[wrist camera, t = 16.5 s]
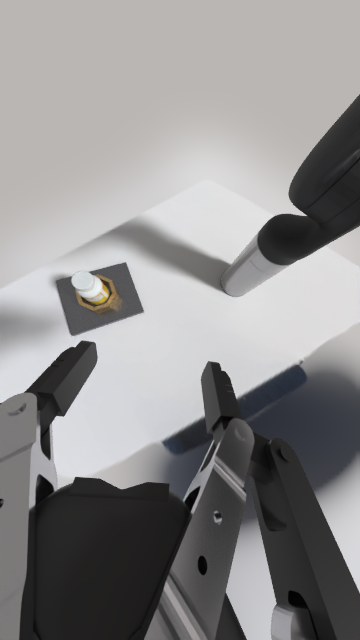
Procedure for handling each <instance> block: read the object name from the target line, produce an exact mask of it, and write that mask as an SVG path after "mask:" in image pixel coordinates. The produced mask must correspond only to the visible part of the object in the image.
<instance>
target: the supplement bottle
mask: <svg viewBox="0 0 360 640" xmlns="http://www.w3.org/2000/svg"><path fill="white" fill-rule="evenodd" d="M71 282H72V284H73V286H74V287H75V289H76V291H77V293H78V294H79V295H80V296H82V297H83V298H85V299H86V300H88V301H89V302H90V303H92V304H93V305H95V306H99V305H102V304H106V303H107V301H108V300H109V298H110V296H111V293H110V291H109V290H108V289H107V287H106V286H105V285H104V284H103V283H102V281H101V280H100V279H99V278H98V277H96V276H94V275H91V274H90V273H89V272H87V271H79V272H76V273H75V274H74V275H73V276H72V279H71Z"/></svg>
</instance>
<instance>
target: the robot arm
mask: <svg viewBox="0 0 360 640" xmlns="http://www.w3.org/2000/svg"><path fill="white" fill-rule="evenodd" d="M289 198H290V200H291V202H292V203H293V205H294V206H296V207H297V208H298V209H299V210H300V211H302V212H303V213H304V214H306V215H307V216H299V215H293V214H280V215H277V216H274V217H273V218H271V219H270V220H269V221H268V222H267V223H266V224H265V225H264V226H263V227H262V229H261V230H260V231H259V232H258V233H257V235H256V236H255V237H254V238H253V239H252V241H251V242H250V243H249V244H248V245H247V246H246V248H245V249H244V250H243V251H242V252H241V254H240V255H239V256H238V257H237V258H236V259H235V261H234V262H233V263H232V264H231V265H230V266H229V268H228V269H227V270H226V271H225V272H224V273H223V275H222V277H221V285H222V288H223V289H224V291H225V292H226V293H227V294H229V295H231V296H234V297H240V296H243V295H244V294H246V293H247V292H249V291H251V290H252V289H254V288H255V287H257V286H258V285H260V284H261V283H263V282H265V281H266V280H268V279H269V278H271V277H272V276H274V275H276V274H277V273H279V272H280V271H282V270H283V269H285V268H286V267H288V266H289V265H291V264H292V263H294V262H296V261H297V260H300V259H302V258H305V257H307V256H308V255H310V254H312V253H313V252H315V251H317V250H318V249H320V248H322V247H324V246H325V245H327V244H329V243H330V242H332V241H334V240H336V239H338V238H339V237H341V236H343V235H345V234H346V233H348V232H350V231H352V230H354V229H355V228H357V227H359V226H360V95H359V96H358V97H357V98H356V99H355V100H354V102H353V103H352V104H351V105H350V106H349V107H348V109H347V110H346V111H345V112H344V113H343V114H342V115H341V117H340V118H339V119H338V120H337V121H336V122H335V123H334V125H333V126H332V127H331V128H330V129H329V130H328V132H327V133H326V134H325V135H324V136H323V138H322V139H321V140H320V141H319V142H318V144H317V145H316V146H315V147H314V148H313V150H312V151H311V152H310V154H309V155H308V157H307V158H306V159H305V160H304V162H303V163H302V165H301V166H300V168H299V169H298V171H297V173H296V175H295V176H294V178H293V180H292V182H291V185H290V188H289ZM96 363H97V350H96V344H95V342H89V341H81V342H80V343H79V344H78V345H77V346H76V347H70V348H69V349H67V350H65V351H64V352H62V353H61V354H60V355H59V357H58V358H57V359H56V361H54V362H53V363H52V364H51V366H49V367H48V368H47V369H46V370H45V371H44V372H43V373H42V375H41V376H40V377H39V378H38V379H37V380H36V381H35V382H34V383H33V384H32V385H31V386H30V387H29V388H28V389H27V390H26V391H25V392H24V393H21V394H18V395H15V396H13V397H11V398H9V399H7V400H6V401H4V402H3V403H0V640H247V639H246V637H245V635H244V632H243V630H242V628H241V626H240V623H239V621H238V619H237V617H236V614H235V612H234V610H233V607H232V605H231V603H230V601H229V599H228V596H227V594H226V587H227V583H228V578H229V574H230V569H231V565H232V561H233V556H234V552H235V547H236V543H237V538H238V534H239V529H240V524H241V521H242V516H243V512H244V507H245V502H246V492H245V490H244V482H245V478H246V474H248V477H249V481H250V486H251V490H252V495H253V499H254V504H255V508H256V512H257V517H258V521H259V526H260V530H261V535H262V539H263V544H264V548H265V553H266V557H267V562H268V566H269V571H270V575H271V579H272V584H273V589H274V593H275V598H276V602H277V604H276V605H275V607H274V609H273V613H272V621H271V622H272V623H271V637H272V640H360V593H359V591H358V589H357V586H356V584H355V582H354V580H353V578H352V575H351V573H350V571H349V569H348V567H347V564H346V562H345V560H344V558H343V556H342V553H341V551H340V549H339V547H338V545H337V542H336V541H335V538H334V536H333V534H332V531H331V529H330V527H329V525H328V523H327V521H326V518H325V516H324V514H323V512H322V509H321V507H320V505H319V503H318V501H317V499H316V496H315V494H314V492H313V490H312V488H311V486H310V483H309V481H308V479H307V477H306V474H305V472H304V470H303V468H302V466H301V463H300V461H299V459H298V457H297V455H296V453H295V452H294V450H293V449H292V448H291V447H290V445H288V444H287V443H286V442H285V441H283V440H281V439H279V438H275V439H273V440H271V441H270V440H268V439H266V438H264V437H262V436H260V435H258V434H256V433H254V432H253V431H252V430H251V428H250V427H249V426H248V425H247V423H245V422H244V421H243V419H242V416H241V413H240V410H239V406H238V403H237V400H236V397H235V393H234V390H233V387H232V384H231V380H230V378H229V376H228V375H227V373H226V372H225V371H221V367H220V364H219V363H217V362H210V361H208V363H207V365H206V367H205V369H204V371H203V373H202V377H201V384H202V393H203V401H204V410H205V418H206V427H207V433H211V434H213V438H214V440H213V442H212V444H211V446H210V448H209V450H208V453H207V455H206V457H205V459H204V461H203V463H202V465H201V467H200V469H199V471H198V473H197V475H196V477H195V478H194V480H193V482H192V483H191V485H190V487H189V489H188V491H187V493H186V495H185V497H184V499H183V500H182V499H181V498H180V497H179V496H178V495H177V494H176V493H174V492H173V491H172V490H170V489H169V484H165V483H152V482H146V483H143V484H140V485H136V486H133V487H130V488H127V489H119V488H117V487H114V486H113V485H111V484H109V483H107V482H105V481H103V480H101V479H96V478H82V477H75V479H74V482H73V483H71V484H69V485H66V486H64V487H62V488H60V489H58V481H57V472H56V468H55V464H54V456H53V436H52V421H53V420H54V418H55V417H56V416H63V417H64V416H65V414H66V412H67V411H68V409H69V408H70V406H71V404H72V403H73V401H74V399H75V398H76V396H77V395H78V393H79V391H80V390H81V388H82V387H83V385H84V383H85V382H86V380H87V378H88V377H89V375H90V374H91V372H92V370H93V369H94V367H95V365H96Z"/></svg>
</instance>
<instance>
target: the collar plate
mask: <svg viewBox="0 0 360 640" xmlns="http://www.w3.org/2000/svg"><path fill="white" fill-rule="evenodd" d="M89 273H90V274H91V275H94V276H96V277H98V278H99V279H100V280H101V281H102V283H103V284H104V285H105V286H106V287H107V289H108V290H109V291H110V293H111V296H110V298H109V300H108V301H107V303H106V304H102V305H99V306H95V305H93V304H92V303H90V302H89V301H88V300H86V299H85V298H83V297H82V296H80V295H79V294H78V293H77V291H76V289H75V287H74V286H73V284H72V282H71V279H72V277H69V278H65V279H61V280H57V281H56V282H57V286H58V289H59V293H60V296H61V300H62V303H63V307H64V310H65V313H66V317H67V320H68V324H69V327H70V331H71V334H72V336H75V335H78V334H81V333H84V332H87V331H90V330H93V329H96V328H99V327H102V326H105V325H108V324H111V323H114V322H117V321H120V320H123V319H126V318H128V317H131V316H134V315H137V314H140V313H143V312H144V310H143V308H142V305H141V302H140V299H139V297H138V294H137V291H136V289H135V286H134V283H133V280H132V278H131V275H130V272H129V270H128V267H127V264H126V262H125V263H122V264H118V265H114V266H110V267H106V268H103V269H99V270H95V271H91V272H89Z"/></svg>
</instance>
